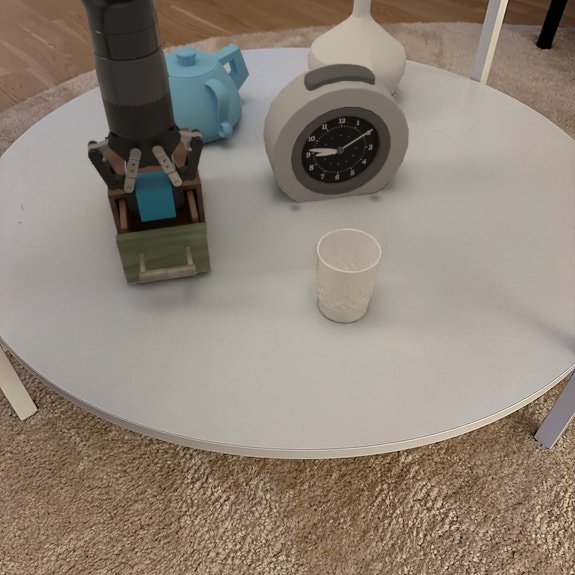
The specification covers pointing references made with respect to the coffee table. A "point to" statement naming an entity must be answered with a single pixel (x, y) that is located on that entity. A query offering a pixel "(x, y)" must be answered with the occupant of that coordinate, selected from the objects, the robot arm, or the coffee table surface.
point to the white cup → (346, 273)
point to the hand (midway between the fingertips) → (157, 207)
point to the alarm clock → (334, 134)
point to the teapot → (206, 89)
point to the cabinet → (179, 158)
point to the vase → (361, 47)
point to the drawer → (163, 244)
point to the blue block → (154, 196)
